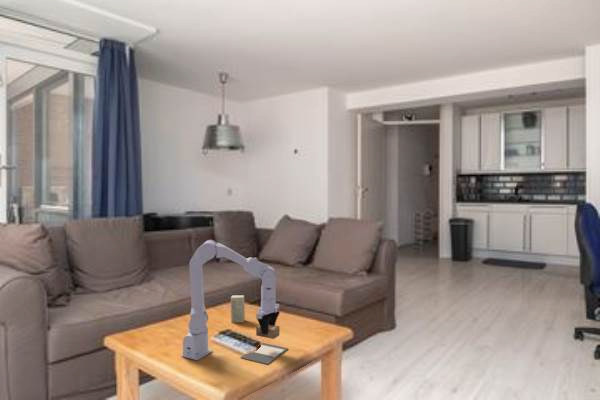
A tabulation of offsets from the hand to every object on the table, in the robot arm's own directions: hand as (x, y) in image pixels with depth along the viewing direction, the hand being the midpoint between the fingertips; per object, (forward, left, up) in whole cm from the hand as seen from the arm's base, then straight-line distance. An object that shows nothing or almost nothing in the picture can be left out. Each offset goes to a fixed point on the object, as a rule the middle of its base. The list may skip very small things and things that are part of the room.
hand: (267, 331), depth 161 cm
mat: (-2, 0, -8) cm, 8 cm away
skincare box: (+24, +31, -8) cm, 40 cm away
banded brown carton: (0, 0, -2) cm, 2 cm away
